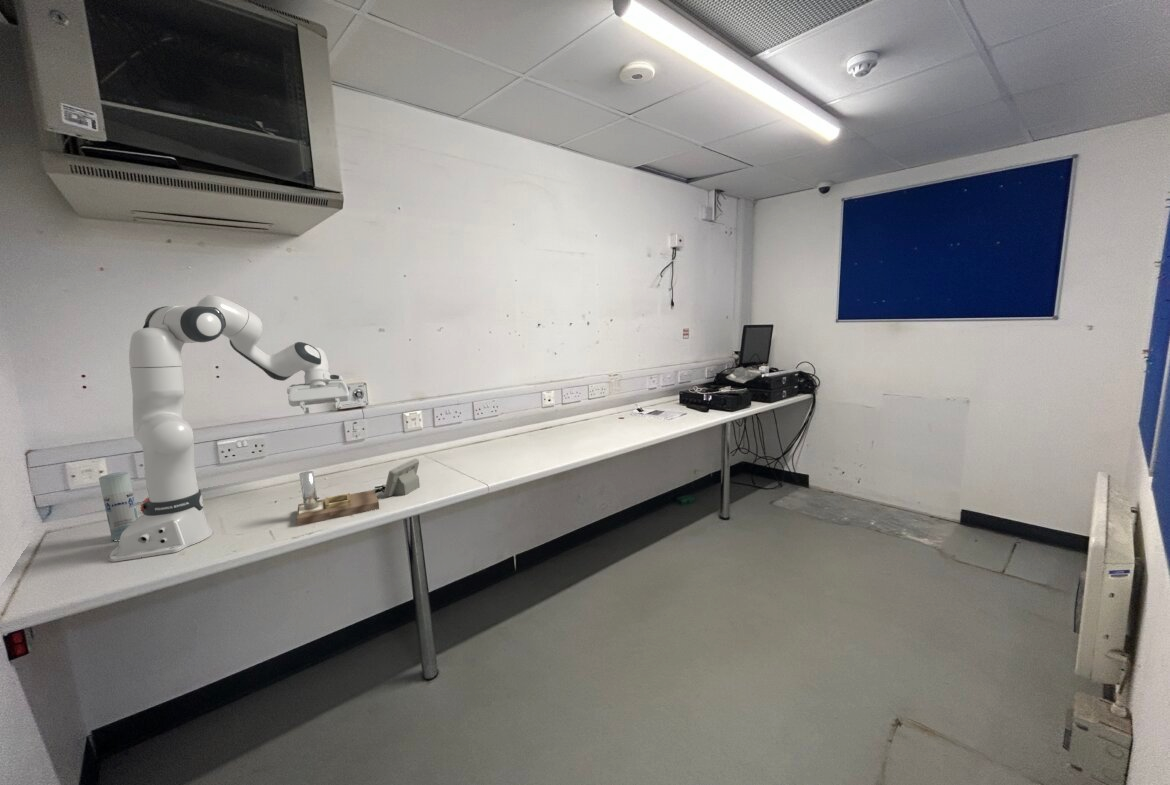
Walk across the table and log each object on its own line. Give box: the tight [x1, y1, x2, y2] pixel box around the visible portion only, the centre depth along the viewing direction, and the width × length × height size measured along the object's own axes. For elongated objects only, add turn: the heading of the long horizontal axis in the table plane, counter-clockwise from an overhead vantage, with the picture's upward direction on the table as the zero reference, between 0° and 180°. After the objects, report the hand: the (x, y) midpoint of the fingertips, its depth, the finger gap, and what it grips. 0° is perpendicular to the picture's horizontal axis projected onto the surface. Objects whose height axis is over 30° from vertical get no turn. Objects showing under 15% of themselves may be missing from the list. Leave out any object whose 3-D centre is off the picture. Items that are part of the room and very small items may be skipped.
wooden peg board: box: [296, 489, 380, 527], centre depth 156 cm, size 24×14×4 cm, turn 120°
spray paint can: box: [98, 471, 139, 541], centre depth 139 cm, size 6×6×20 cm
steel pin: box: [299, 470, 318, 510], centre depth 151 cm, size 4×4×12 cm
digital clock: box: [383, 458, 420, 498], centre depth 173 cm, size 16×9×11 cm, turn 153°
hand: (321, 411), depth 171 cm, fingers open, 8 cm apart
